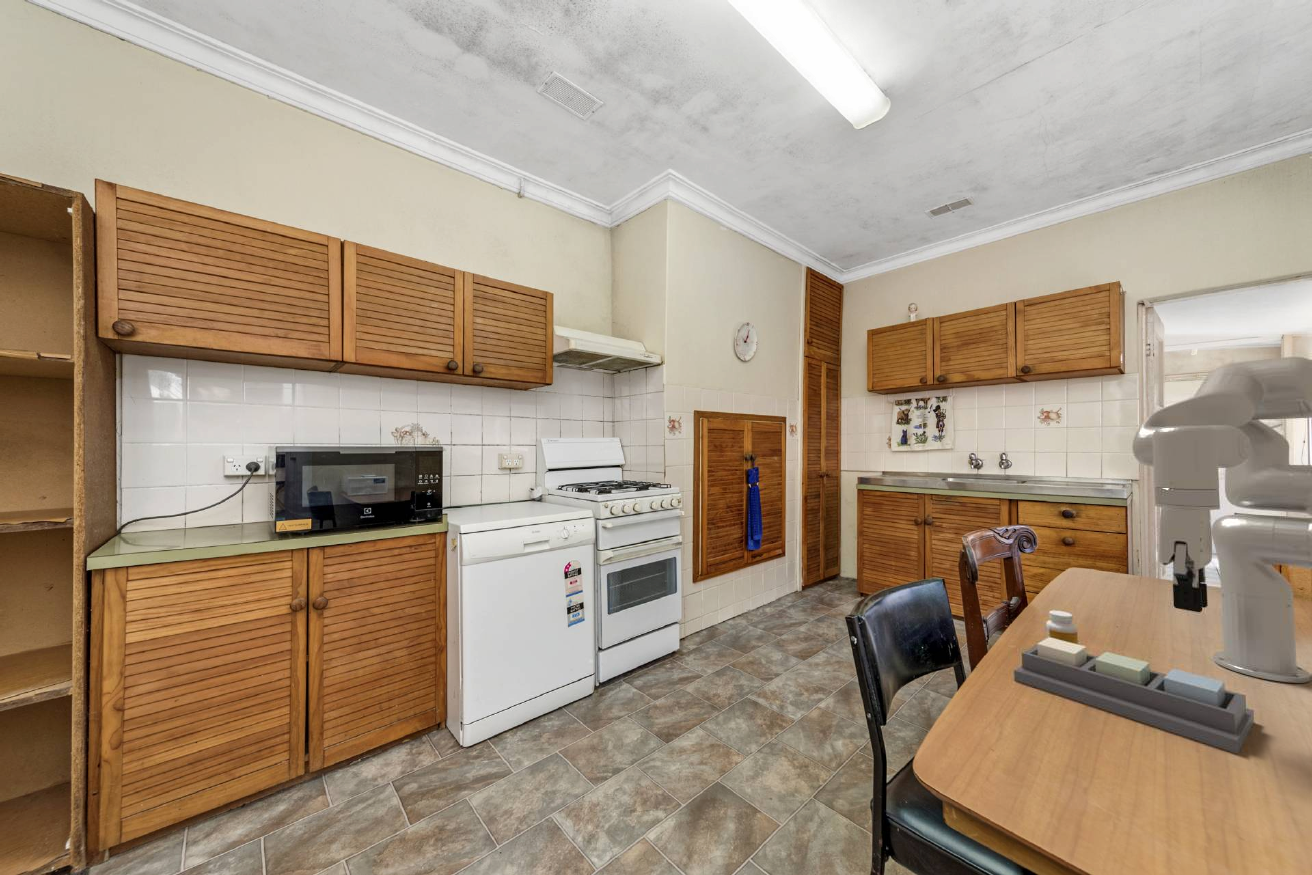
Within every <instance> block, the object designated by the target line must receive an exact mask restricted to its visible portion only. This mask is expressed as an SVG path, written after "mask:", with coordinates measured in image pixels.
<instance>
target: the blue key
mask: <svg viewBox="0 0 1312 875" xmlns="http://www.w3.org/2000/svg"><path fill="white" fill-rule="evenodd" d="M1166 674H1167V675H1166V676H1165V677H1164V690H1165V692H1167V693H1170V694H1174V695H1178V696H1181V697H1185V698H1188V699H1192V700H1195V701H1199V702H1202V703H1206V704H1209V705H1213V706H1216V707H1221V705H1222V704H1223V702H1224V701H1225V690H1226V689H1225V688H1226V687H1225V686H1226V685H1225V681H1224V680H1219V679H1215V678H1211V677H1207V676H1203V675H1200V674H1195V673H1191V672H1188V671H1184V670H1179V669H1177V668H1172V669H1171V670H1170V671H1169V672H1168V673H1166Z"/></svg>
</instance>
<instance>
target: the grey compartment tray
mask: <svg viewBox="0 0 1312 875" xmlns="http://www.w3.org/2000/svg"><path fill="white" fill-rule="evenodd" d="M1098 657H1099V656H1098V655H1093V654H1090V653H1087V652H1086V658H1087V662H1086V663H1084V664H1083V665H1082V666H1080V667H1076V666H1072V665H1069V664H1065V663H1062V662H1058V661H1055V660H1051V659H1047V658H1044V657H1040V656H1038V650H1037V644H1035V645H1034V646H1031V647H1030V648H1028V649H1026V650H1024V651H1023V652H1021V665H1020V666H1019V667H1017V668H1015V669H1013V676H1014V677H1013V680H1014V682H1018V683H1021V684H1024V685H1027V686H1030V687H1033V688H1036V689H1039V690H1042V691H1045V692H1048V693H1051V694H1053V695H1057V696H1060V697H1064V698H1066V699H1069V700H1072V701H1075V702H1078V703H1082V704H1085V705H1087V706H1091V707H1093V708H1097V709H1100V710H1101V711H1102V710H1103V711H1105V712H1108V713H1109V712H1110V713H1112V714H1114V715H1118V716H1121V717H1124V718H1127V719H1130V720H1133V721H1137V722H1139V723H1143V724H1145V725H1148V726H1151V727H1155V728H1157V729H1160V730H1163V731H1167V732H1169V733H1172V734H1175V735H1178V736H1181V737H1184V738H1187V739H1191V740H1193V741H1196V742H1199V743H1203V744H1205V745H1208V746H1211V747H1215V748H1218V749H1221V750H1223V751H1227V752H1230V753H1232V754H1236V755H1238V754H1240V752H1241V749H1242V747H1243V745H1244V743H1245V742H1246V739H1247V737H1248V735H1249V734H1250V732H1251V729H1252V728H1253V726H1254V723H1255V713H1254V709H1250V708H1247V698H1246V697H1247V696H1246V694H1241V693H1238V692H1235V691H1230V690H1226V689H1225V701H1224V702H1223V704H1222V705H1221V707H1216V706H1213V705H1209V704H1206V703H1202V702H1199V701H1195V700H1192V699H1188V698H1185V697H1181V696H1178V695H1174V694H1170V693H1167V692H1165V690H1164V677H1165V676H1166V675H1167V674H1168V673H1164V672H1163V673H1162V672H1158V671H1155V670H1151V669H1150V680H1149V681H1148V682H1147V683H1146V684H1145V685H1144V686H1142V685H1139V684H1135V683H1132V682H1128V681H1125V680H1121V679H1118V678H1114V677H1111V676H1107V675H1104V674H1100V673H1097V672H1096V662H1095V659H1097V658H1098Z"/></svg>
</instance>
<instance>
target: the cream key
mask: <svg viewBox="0 0 1312 875" xmlns="http://www.w3.org/2000/svg"><path fill="white" fill-rule="evenodd" d="M1036 645H1037V650H1038V656H1040V657H1044V658H1047V659H1051V660H1055V661H1058V662H1062V663H1065V664H1069V665H1072V666H1076V667H1080V666H1082V665H1083V664H1084V663H1086V662H1087V658H1086V653H1087V646H1085V645H1082V644H1079V643H1078V644H1074V643H1070V642H1066V641H1062V640H1058V639H1054V638H1050V637H1048V638H1047V639H1046V638H1044V639H1043V640H1042V641H1040V642H1038V643H1037V644H1036Z"/></svg>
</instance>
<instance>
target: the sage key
mask: <svg viewBox="0 0 1312 875" xmlns="http://www.w3.org/2000/svg"><path fill="white" fill-rule="evenodd" d="M1095 662H1096V672H1097V673H1100V674H1104V675H1107V676H1111V677H1114V678H1118V679H1121V680H1125V681H1128V682H1132V683H1135V684H1139V685H1142V686H1144V685H1145V684H1146V683H1147V682H1148V681H1149V680H1150V670H1151V669H1150V662H1149V661H1144V660H1140V659H1137V658H1134V657H1129V656H1124V655H1120V654H1116V653H1113V652H1110V651H1105V652H1103V653H1102V654H1101V655H1100V656H1098V658H1097V659H1095Z"/></svg>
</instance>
